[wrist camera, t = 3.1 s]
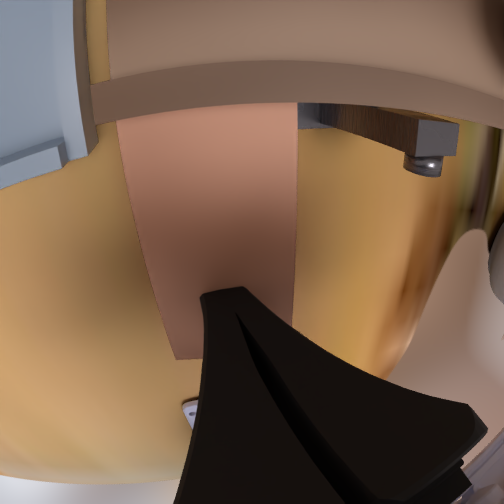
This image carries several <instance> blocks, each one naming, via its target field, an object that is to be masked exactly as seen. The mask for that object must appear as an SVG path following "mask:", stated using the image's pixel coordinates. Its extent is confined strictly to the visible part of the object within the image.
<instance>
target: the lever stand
mask: <svg viewBox="0 0 504 504" xmlns="http://www.w3.org/2000/svg"><path fill="white" fill-rule="evenodd" d="M297 121H298V129H312V128H337V129H341V130H344V131H347V132H350V133H353V134H356V135H359V136H362V137H365V138H368V139H371V140H373V141H376V142H379V143H382V144H384V145H387V146H390V147H392V148H395V149H397V150H400V151H403V152H405V155H404V164H403V167H404V168H405V169H406V170H408V171H410V172H412V173H415V174H418V175H422V176H426V177H440V176H441V170H442V164H443V157H444V156H456V149H457V141H458V133H459V124H457V123H454V122H451V121H448V120H444V119H441V118H438V117H434V116H431V115H427V114H423V113H420V112H416V111H412V110H405V109H397V108H388V107H378V106H367V105H354V104H337V103H297Z"/></svg>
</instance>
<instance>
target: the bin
mask: <svg viewBox="0 0 504 504" xmlns="http://www.w3.org/2000/svg"><path fill="white" fill-rule="evenodd" d="M97 144H98V137H97V131H96V125H95V120H94V113H93V106H92V98H91V89H90V78H89V67H88V55H87V38H86V0H0V189H2V188H5V187H8V186H10V185H13V184H16V183H19V182H22V181H24V180H27V179H30V178H33V177H36V176H39V175H43V174H46V173H49V172H52V171H55V170H59V169H62V168H63V167H64V166H65V165H66V164H67V162H68V161H71V160H75V159H78V158H82V157H85V156H88V155H89V154H90V153H91V151H92V150H93V149H94V147H95V146H96V145H97Z"/></svg>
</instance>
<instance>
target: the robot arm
mask: <svg viewBox="0 0 504 504" xmlns="http://www.w3.org/2000/svg"><path fill="white" fill-rule="evenodd" d="M199 299H200V304H201V309H202V314H203V324H204V342H203V362H202V373H201V383H200V391H199V398H198V400H195V401H190V402H187V403H185V404H183V406H182V408H183V412H184V414H185V416H186V418H187V420H188V422H189V424H190V426H191V428H192V430H193V431H192V436H191V441H190V445H189V450H188V454H187V458H186V461H185V465H184V469H183V472H182V476H181V480H180V484H179V487H178V490H177V493H176V497H175V500H174V503H173V504H504V428H503V429H502V430H501V431H500V432H499V433H498V434H497V435H496V437H495V438H494V439H493V440H492V441H491V442H490V443H489V444H488V445H487V446H486V447H485V448H484V449H483V450H482V451H481V452H480V453H479V454H478V455H477V456H476V457H475V458H474V459H473V460H472V461H471V462H470V463H468V464H467V465H466V466H465V467H464V468H463V469H461V468H460V467H461V466H462V465H463V464H464V461H463V460H462V457H463V456H464V455H466V454H467V453H468V452H469V451H470V450H471V449H472V448H473V447H474V446H475V445H476V444H477V443H478V442H479V441H480V440H481V439H482V438H483V437H484V436H485V435H486V433H487V430H488V428H487V426H486V425H485V424H484V423H483V421H482V420H481V419H480V418H479V417H478V415H477V414H476V413H475V412H474V410H473V409H472V408H471V407H470V406H469V405H468V404H465V403H460V402H455V401H450V400H446V399H441V398H437V397H432V396H429V395H425V394H422V393H418V392H415V391H412V390H409V389H406V388H403V387H401V386H398V385H395V384H393V383H391V382H388V381H386V380H383V379H381V378H378V377H376V376H373V375H371V374H369V373H367V372H365V371H363V370H361V369H359V368H356V367H354V366H352V365H350V364H349V363H347V362H345V361H343V360H341V359H340V358H338V357H336V356H334V355H333V354H331V353H329V352H328V351H326V350H324V349H323V348H321V347H320V346H318V345H317V344H315V343H314V342H312V341H311V340H309V339H308V338H306V337H305V336H303V335H302V334H300V333H299V332H298V331H296V330H295V329H294V328H292V327H291V326H290V325H289V324H287V323H286V322H285V321H283V320H282V319H281V318H279V317H278V316H277V315H276V314H275V313H273V312H272V311H271V310H270V309H269V308H268V307H266V306H265V305H264V304H263V303H262V302H261V301H260V300H258V299H257V298H256V297H255V296H254V295H253V294H252V293H251V292H250V291H249V290H248V289H247V288H245V287H244V286H240V287H233V288H227V289H220V290H216V291H212V292H207V293H203V294H202V295H201V296H200V297H199ZM461 496H462V499H460V500H458V498H460V497H461ZM457 500H458V501H457ZM455 501H456V502H455ZM454 502H455V503H454Z"/></svg>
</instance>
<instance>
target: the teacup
mask: <svg viewBox="0 0 504 504" xmlns="http://www.w3.org/2000/svg"><path fill="white" fill-rule="evenodd" d="M488 268H489V273H490V285H491V288H492V291H493V293H494V294H495V296H496V297H497V298H498V299H499V300H500V301H501V302H502V303H503V304H504V222H503V224H502V226H501V227H500V229H499V231H498V233H497V235H496V238H495V240H494V243H493V245H492V248H491V252H490V255H489V261H488Z"/></svg>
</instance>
